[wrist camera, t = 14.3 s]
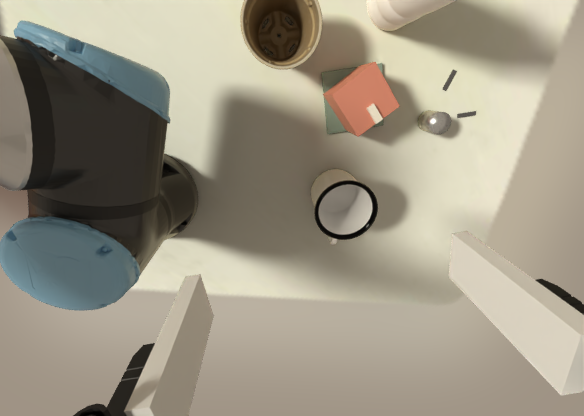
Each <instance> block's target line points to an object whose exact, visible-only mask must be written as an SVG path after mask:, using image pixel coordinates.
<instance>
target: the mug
mask: <svg viewBox="0 0 584 416" xmlns="http://www.w3.org/2000/svg"><path fill="white" fill-rule="evenodd" d="M311 199H312V202H313V204H314V207H315V209H314V215H315V220H316V223H317V225H318V227H319V228H320V230H321V231H322V232H323V233H324V234H326V235H327V236H328V239H329V242H330V244H333V245H336V243H337V240H338V239H339V240H347V239H352V238H355V237H358V236H360V235H362V234H363V233H364V232H366V231H367V230H368V229H369V228H370V227H371V226H372V224H373V222H374V221H375V218H376V216H377V211H378V204H377V200H376V197H375V195H374V193H373V192H372V191H371V189H370V188H369V187H367V186H366V185H365V184H363V183H361V182H358V181H357V180H356V179H355V178H354V177H353V176H352V175H351V174H350V173H348V172H346V171H344V170H340V169H332V170H328V171H325V172H324V173H322V174H321V175H319V176H318V177H317V178H316V180H315V181H314V183H313V185H312V188H311Z"/></svg>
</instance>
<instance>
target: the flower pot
mask: <svg viewBox="0 0 584 416" xmlns="http://www.w3.org/2000/svg"><path fill="white" fill-rule="evenodd" d="M286 17H288V18H289V19H290V20H291V21H292V23H293V24H292V25H290V24H289V23H288V22H287V21H286V20H285V18H286ZM266 19H268V20H269V22H268V23H267V24H266V26H265V28H262V27H263V24H264V22H265V21H266ZM240 22H241V31H242V35H243V38H244V41H245V43H246V45H247V47H248V49H249V50H250V52H251V53H252V54H253V55H254V56H255V58H256V59H258V60H259V61H260V62H261V63H263V64H265V65H267V66H269V67H272V68H275V69H291V68H294V67H297V66H299V65H300V64H302V63H304V62H305V61H306V60H307V59H308V58H309V57H310V56H311V55H312V53H313V52H314V51H315V49H316V47H317V45H318V43H319V40H320V37H321V31H322V14H321V9H320V5H319V3H318V0H244V2H243V5H242V9H241V21H240ZM278 34H280V35H281V36H280V37H278ZM293 45H295V46H294V48H293V49H292V51H289V50H290V49H291V47H292V46H293ZM266 48H267V49H268V50H269V51H271V52H272V53H273V55H269V54H268V53H267V52H266V50H265V49H266Z"/></svg>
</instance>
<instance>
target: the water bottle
mask: <svg viewBox="0 0 584 416" xmlns="http://www.w3.org/2000/svg"><path fill="white" fill-rule="evenodd" d="M454 1H456V0H367V11H368V14H369V17H370V19H371V21H372V22H373V24H374V25H375V26H377V27H378V28H380V29H382V30H386V31H392V30H396V29H399V28H401V27H403V26H405V25H406V24H408V23H411V22H413V21H415V20H417V19H419V18H420V17H422V16H423V15H426V14H429V13H431V12H434V11H436V10H438V9H440V8H443V7H445V6H447V5H449V4H450V3H452V2H454Z"/></svg>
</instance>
